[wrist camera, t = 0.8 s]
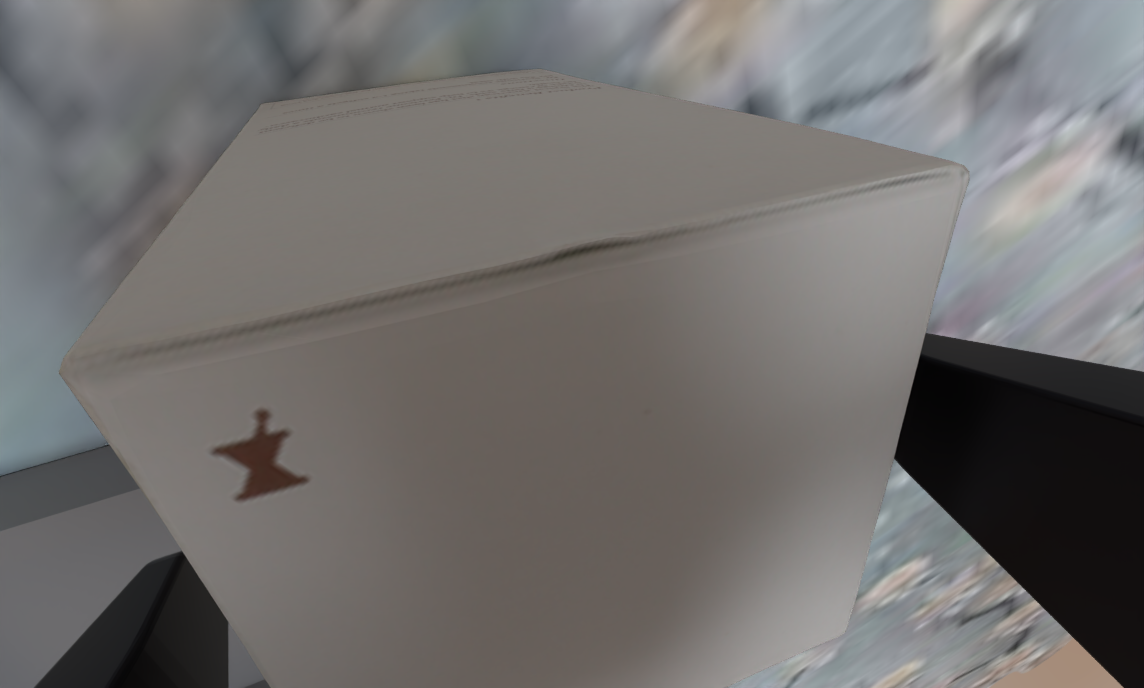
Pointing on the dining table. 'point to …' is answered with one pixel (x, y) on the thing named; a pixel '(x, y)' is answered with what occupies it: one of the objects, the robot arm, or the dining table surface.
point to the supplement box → (525, 381)
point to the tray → (76, 560)
